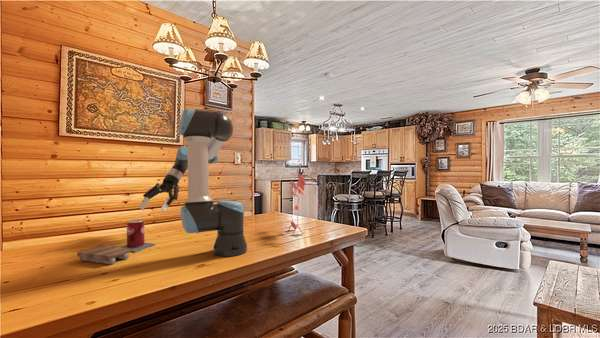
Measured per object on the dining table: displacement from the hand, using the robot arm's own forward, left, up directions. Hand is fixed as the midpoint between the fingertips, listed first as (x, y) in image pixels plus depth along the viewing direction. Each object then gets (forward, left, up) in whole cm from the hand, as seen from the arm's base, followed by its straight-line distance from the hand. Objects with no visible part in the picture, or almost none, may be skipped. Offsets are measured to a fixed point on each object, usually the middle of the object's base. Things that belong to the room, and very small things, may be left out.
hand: (151, 209), depth 138 cm
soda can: (0, +10, -16) cm, 19 cm away
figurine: (-68, -42, -17) cm, 82 cm away
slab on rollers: (-2, +27, -17) cm, 32 cm away
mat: (0, +10, -17) cm, 19 cm away
